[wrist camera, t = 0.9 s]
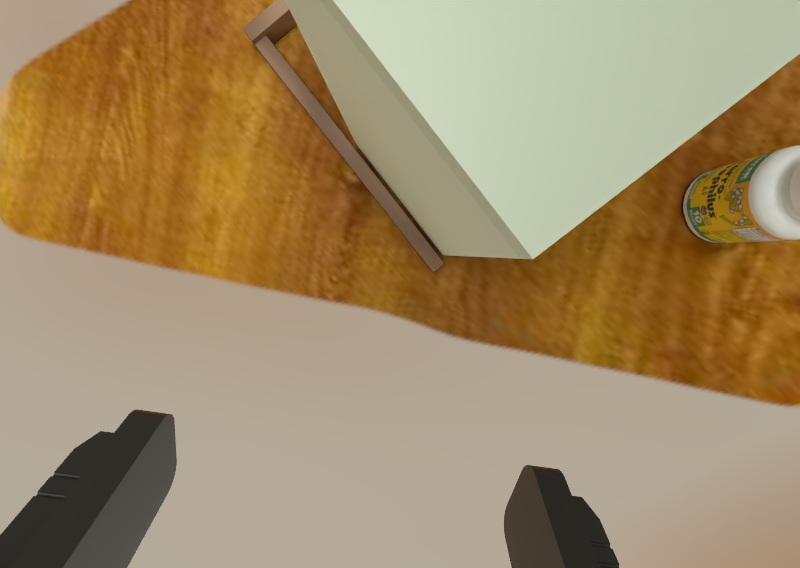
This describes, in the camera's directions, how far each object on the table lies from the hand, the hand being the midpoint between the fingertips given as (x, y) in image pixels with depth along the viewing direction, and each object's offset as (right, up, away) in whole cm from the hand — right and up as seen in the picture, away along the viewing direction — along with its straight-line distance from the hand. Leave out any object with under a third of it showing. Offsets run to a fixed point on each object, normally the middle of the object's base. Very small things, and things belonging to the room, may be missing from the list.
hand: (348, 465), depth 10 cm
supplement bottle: (+24, +10, +22) cm, 34 cm away
